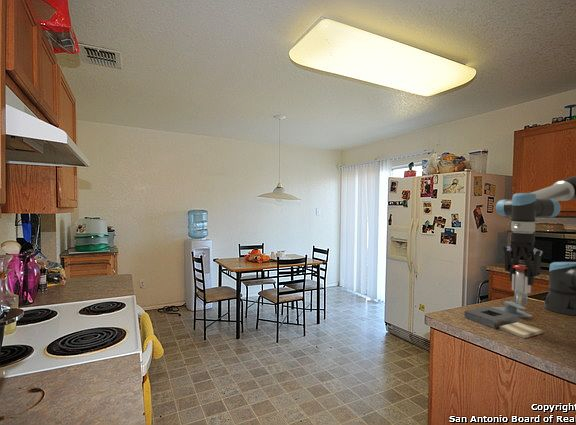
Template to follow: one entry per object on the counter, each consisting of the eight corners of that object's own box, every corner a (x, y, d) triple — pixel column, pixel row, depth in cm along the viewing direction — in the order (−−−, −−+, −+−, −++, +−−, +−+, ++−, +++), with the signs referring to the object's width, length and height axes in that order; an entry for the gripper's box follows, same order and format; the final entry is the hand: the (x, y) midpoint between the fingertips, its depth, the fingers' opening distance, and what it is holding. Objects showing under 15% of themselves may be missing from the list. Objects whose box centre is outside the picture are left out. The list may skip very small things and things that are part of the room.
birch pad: (517, 324, 129) (518, 321, 129) (542, 333, 121) (542, 330, 121) (499, 329, 124) (499, 326, 124) (524, 338, 116) (524, 335, 116)
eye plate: (488, 312, 143) (488, 306, 143) (518, 322, 131) (518, 315, 131) (464, 317, 137) (464, 310, 137) (494, 328, 125) (494, 321, 125)
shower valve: (509, 307, 135) (488, 297, 150) (509, 320, 135) (488, 308, 150) (538, 308, 135) (514, 297, 150) (538, 320, 135) (513, 309, 150)
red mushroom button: (517, 300, 126) (518, 263, 126) (533, 304, 120) (534, 266, 120) (507, 302, 124) (509, 264, 123) (524, 306, 118) (525, 267, 118)
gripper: (494, 230, 128) (493, 286, 128) (542, 234, 112) (540, 298, 113) (506, 230, 131) (504, 285, 131) (554, 234, 115) (552, 296, 116)
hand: (521, 291), depth 122 cm, fingers closed on red mushroom button, 4 cm apart
